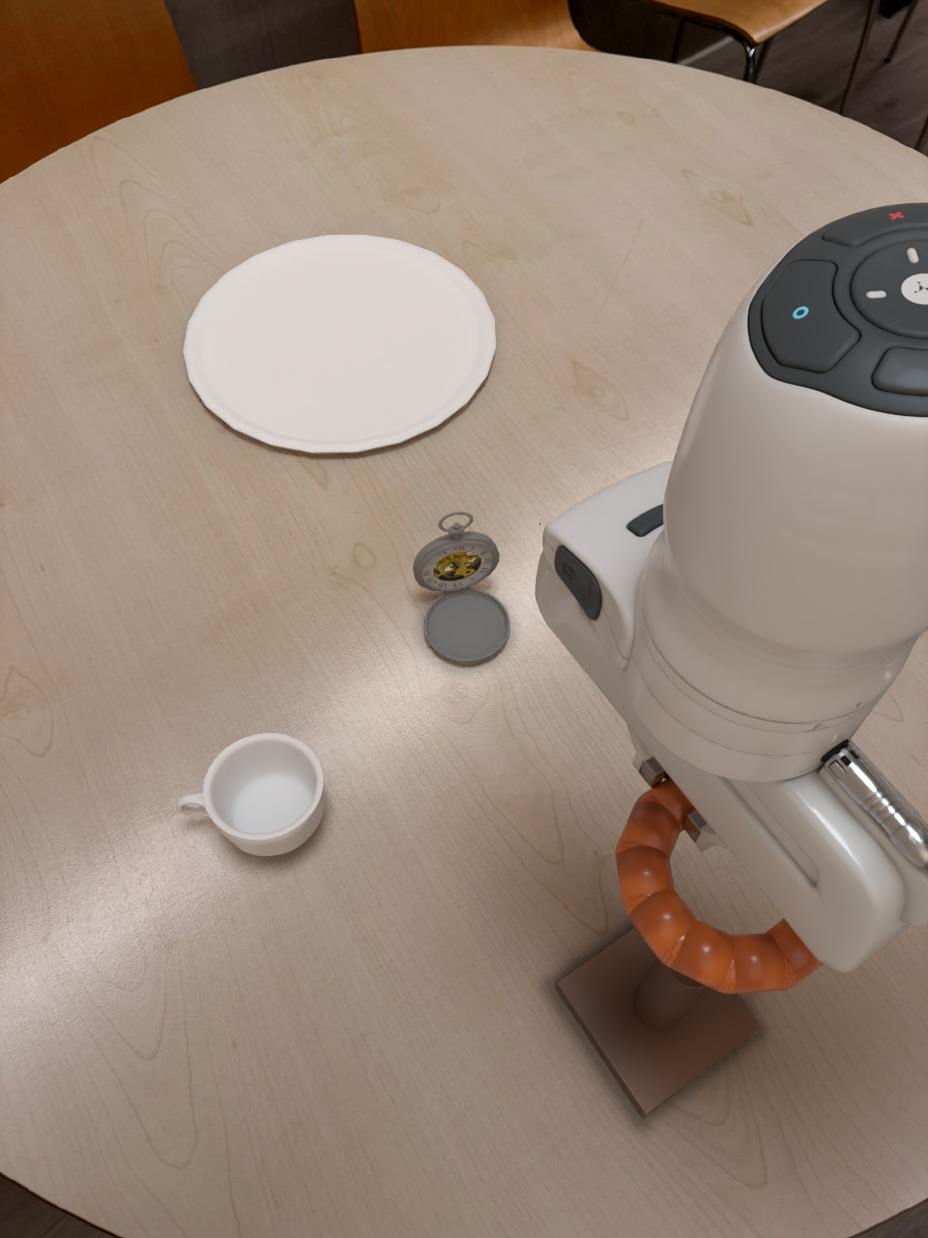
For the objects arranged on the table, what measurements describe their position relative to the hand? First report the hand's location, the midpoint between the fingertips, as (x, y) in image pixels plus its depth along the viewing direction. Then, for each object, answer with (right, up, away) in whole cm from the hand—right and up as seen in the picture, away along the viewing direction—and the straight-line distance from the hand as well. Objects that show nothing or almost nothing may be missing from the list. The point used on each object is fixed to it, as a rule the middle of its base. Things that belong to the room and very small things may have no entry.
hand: (679, 800), depth 48 cm
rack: (+2, -16, +17) cm, 23 cm away
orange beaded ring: (+2, -3, -1) cm, 4 cm away
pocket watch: (-10, +8, +33) cm, 35 cm away
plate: (-22, +34, +49) cm, 64 cm away
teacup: (-24, -5, +24) cm, 34 cm away
